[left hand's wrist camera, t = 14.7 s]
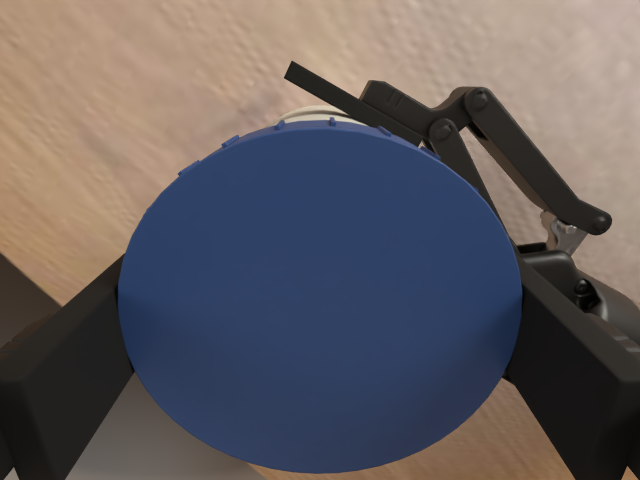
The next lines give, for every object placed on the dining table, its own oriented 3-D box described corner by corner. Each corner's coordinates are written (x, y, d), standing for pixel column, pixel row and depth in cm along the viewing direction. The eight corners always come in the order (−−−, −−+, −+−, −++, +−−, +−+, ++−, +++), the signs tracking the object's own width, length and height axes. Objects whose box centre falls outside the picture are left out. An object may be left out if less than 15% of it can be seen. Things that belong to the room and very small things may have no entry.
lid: (209, 44, 9) (181, 34, 8) (564, 213, 11) (616, 240, 9) (112, 363, 13) (76, 411, 11) (390, 456, 15) (401, 511, 13)
